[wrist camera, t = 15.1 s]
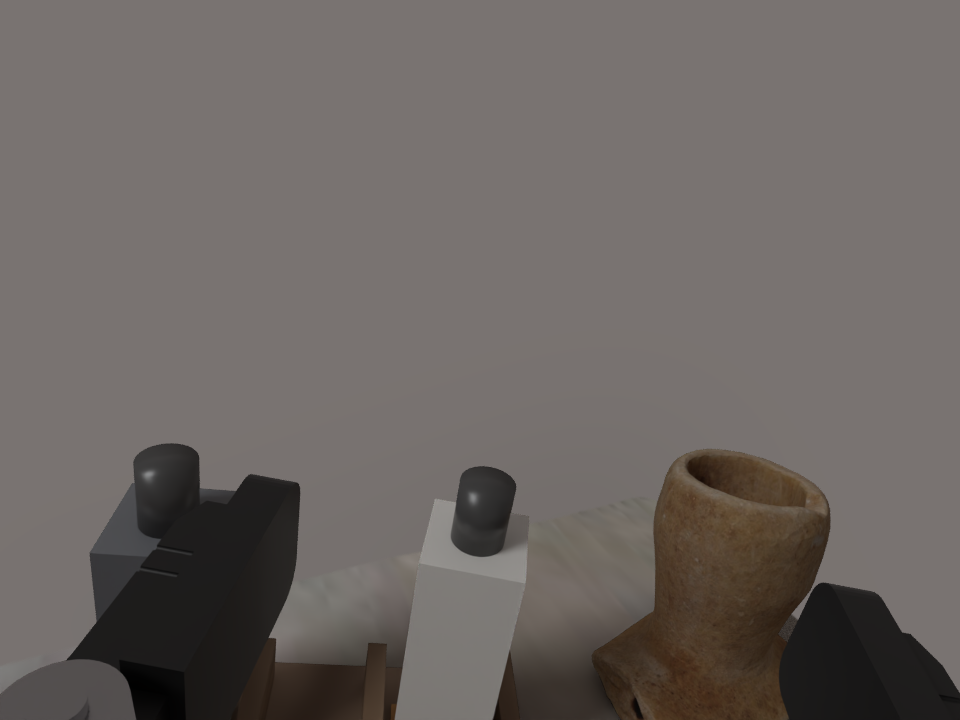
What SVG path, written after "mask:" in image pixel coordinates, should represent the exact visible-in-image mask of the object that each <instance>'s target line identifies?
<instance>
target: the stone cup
mask: <svg viewBox="0 0 960 720" xmlns="http://www.w3.org/2000/svg"><path fill="white" fill-rule="evenodd" d="M829 532H830V508H829V504H828V501H827V499H826V497H825V495H824V494H823V493H822V491H821V490H820V489H819V488H818V487H817V486H816V485H815V484H814V483H812V482H811V481H809V480H808V479H806V478H805V477H803V476H801V475H799V474H798V473H796V472H793V471H791V470H789V469H787V468H785V467H783V466H780V465H778V464H776V463H774V462H771V461H769V460H766V459H763V458H760V457H756V456H752V455H748V454H745V453H741V452H734V451H728V450H719V449H703V450H696V451H693V452H690V453H687V454H685V455H683V456H681V457H679V458H678V459H677V460H675V461H674V463H673V464H672V465H671V467H670V468H669V471H668V472H667V475H666V477H665V481H664V484H663V487H662V490H661V493H660V496H659V499H658V502H657V506H656V510H655V516H654V544H655V565H656V570H655V608H654V611H653V612H652V613H650V614H648V615H647V616H645V617H644V618H643V619H641V620H640V621H638V622H637V623H636V624H634V625H633V626H631V627H630V628H628V629H627V630H626V631H624V632H623V633H621V634H620V635H619V636H617V637H616V638H614V639H613V640H611V641H610V642H608V643H607V644H605V645H604V646H602V647H600V648H599V649H597V650H595V651H594V653H593V654H592V662H593V665H594V668H595V669H596V671H597V672H598V674H599V676H600V678H601V680H602V683H603V686H604V688H605V691H606V694H607V697H608V698H609V699H610V700H611V702H612V704H613V706H614V708H615V711H616V712H617V714H618V716H619V717H620V718H621V720H788V719H789V717H788V714H787V711H786V708H785V705H784V703H783V700H782V696H781V692H780V686H779V667H780V661H781V657H782V654H783V651H784V649H785V647H786V645H787V642H786V641H785V640H784V639H783V638H782V637H780V636H779V635H778V633H779V631H780V630H781V628H782V627H783V625H784V624H785V622H786V621H787V619H788V618H789V616H790V615H791V614H792V612H793V611H794V610H795V609H796V608H797V606H798V605H799V604H800V603H801V602H802V600H803V599H804V598H805V597H806V595H807V594H808V593H809V591H810V590H811V588H812V585H813V583H814V581H815V577H816V575H817V572H818V569H819V567H820V564H821V561H822V559H823V555H824V552H825V548H826V545H827V541H828V536H829Z"/></svg>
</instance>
